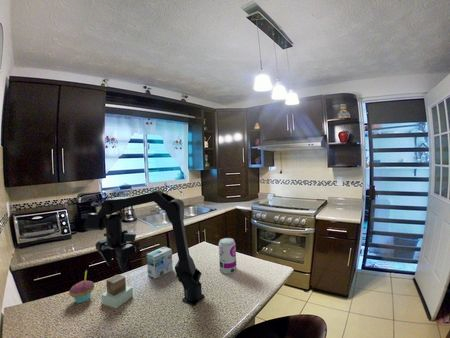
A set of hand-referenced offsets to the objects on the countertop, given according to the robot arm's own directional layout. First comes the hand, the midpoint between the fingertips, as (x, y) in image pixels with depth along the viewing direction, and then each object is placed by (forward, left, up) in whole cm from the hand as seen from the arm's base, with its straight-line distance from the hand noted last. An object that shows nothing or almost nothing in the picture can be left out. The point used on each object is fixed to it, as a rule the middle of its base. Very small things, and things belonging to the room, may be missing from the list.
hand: (116, 267), depth 87 cm
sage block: (0, 0, -13) cm, 13 cm away
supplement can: (-28, -40, -13) cm, 50 cm away
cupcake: (+13, +7, -13) cm, 20 cm away
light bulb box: (+1, -23, -13) cm, 26 cm away
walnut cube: (0, 0, -9) cm, 9 cm away
